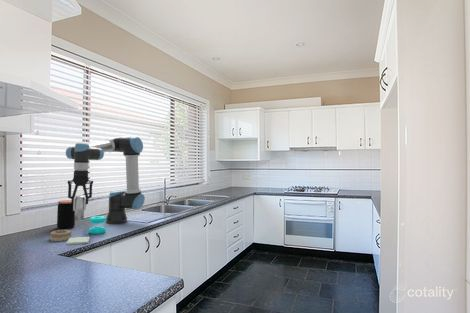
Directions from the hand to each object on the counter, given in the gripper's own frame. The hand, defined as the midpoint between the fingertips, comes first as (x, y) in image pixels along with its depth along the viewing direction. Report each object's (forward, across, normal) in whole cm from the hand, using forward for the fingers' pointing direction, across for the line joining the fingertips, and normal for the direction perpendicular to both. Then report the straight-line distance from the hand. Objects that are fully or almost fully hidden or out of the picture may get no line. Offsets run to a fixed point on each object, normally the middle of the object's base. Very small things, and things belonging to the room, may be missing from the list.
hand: (79, 210), depth 176 cm
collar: (+18, -10, +9) cm, 23 cm away
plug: (+5, 0, 0) cm, 5 cm away
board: (+18, 0, 0) cm, 18 cm away
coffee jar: (+18, -12, +39) cm, 45 cm away
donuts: (+18, +9, +20) cm, 28 cm away
